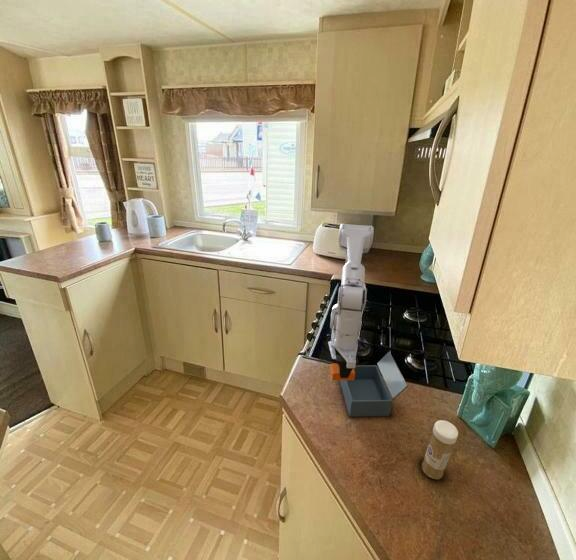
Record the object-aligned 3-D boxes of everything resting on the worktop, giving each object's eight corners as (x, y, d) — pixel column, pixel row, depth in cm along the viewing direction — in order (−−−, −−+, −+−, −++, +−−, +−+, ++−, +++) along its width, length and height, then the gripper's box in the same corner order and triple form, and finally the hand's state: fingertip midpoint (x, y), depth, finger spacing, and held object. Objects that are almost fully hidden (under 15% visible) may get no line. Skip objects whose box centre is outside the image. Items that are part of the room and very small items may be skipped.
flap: (389, 351, 92) (390, 352, 92) (376, 363, 93) (377, 363, 94) (407, 385, 79) (408, 386, 79) (392, 398, 81) (393, 399, 81)
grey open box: (339, 379, 96) (341, 365, 93) (374, 379, 96) (376, 365, 94) (349, 416, 83) (351, 401, 81) (389, 415, 84) (392, 400, 81)
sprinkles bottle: (417, 464, 71) (429, 422, 66) (433, 458, 73) (446, 416, 67) (431, 483, 68) (446, 440, 62) (448, 476, 69) (464, 434, 63)
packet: (332, 380, 84) (332, 373, 83) (329, 370, 88) (330, 363, 86) (354, 380, 84) (355, 373, 83) (351, 370, 88) (351, 363, 87)
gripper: (327, 314, 86) (324, 354, 92) (337, 347, 73) (332, 391, 79) (353, 314, 86) (347, 354, 92) (367, 347, 73) (359, 390, 79)
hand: (342, 371), depth 85 cm, fingers closed on packet, 4 cm apart
